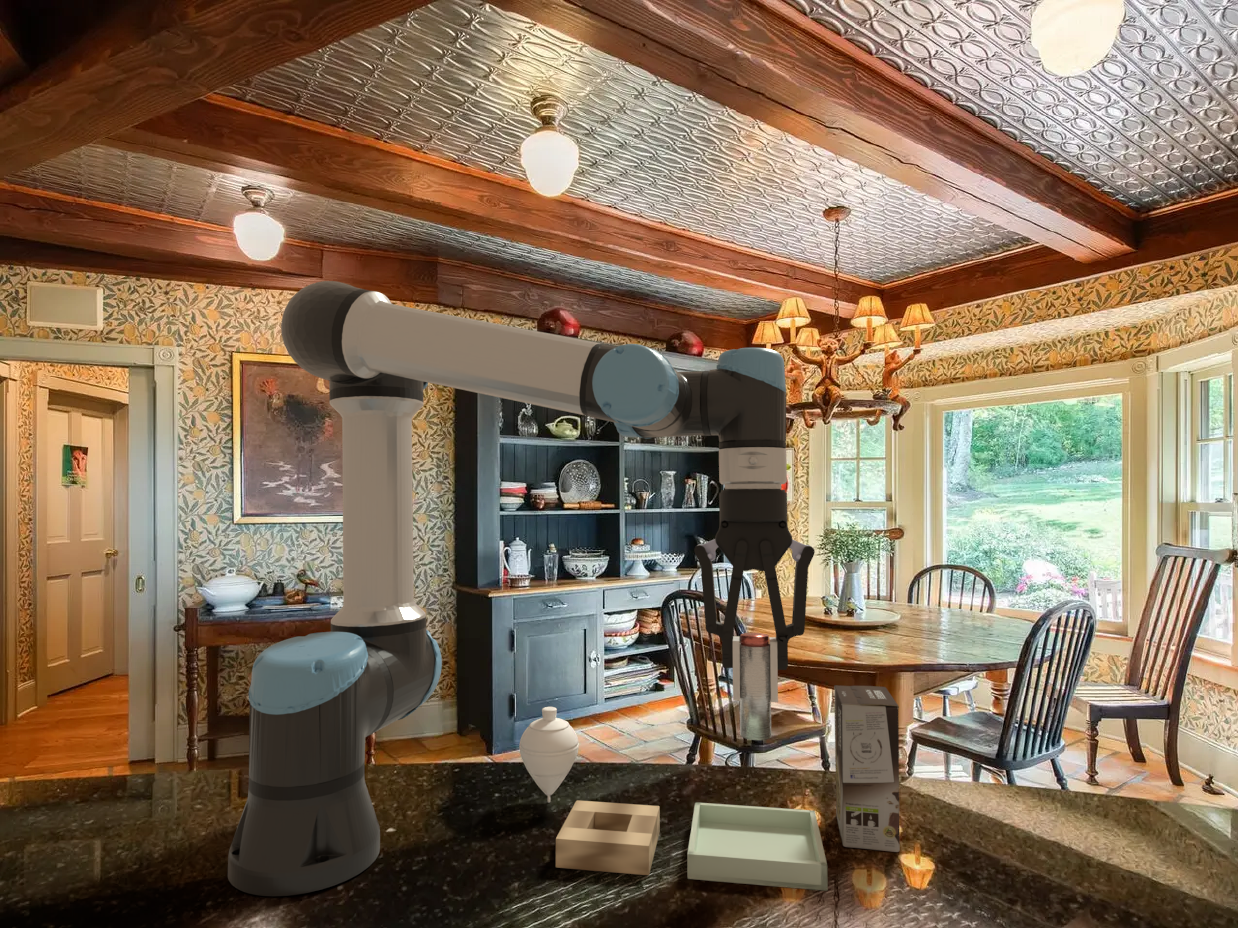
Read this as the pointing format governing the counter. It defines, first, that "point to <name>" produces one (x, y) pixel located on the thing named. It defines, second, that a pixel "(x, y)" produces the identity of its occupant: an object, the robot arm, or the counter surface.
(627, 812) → the block
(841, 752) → the coffee box
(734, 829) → the tray
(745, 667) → the pin
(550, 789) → the spinning top
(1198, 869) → the counter surface
